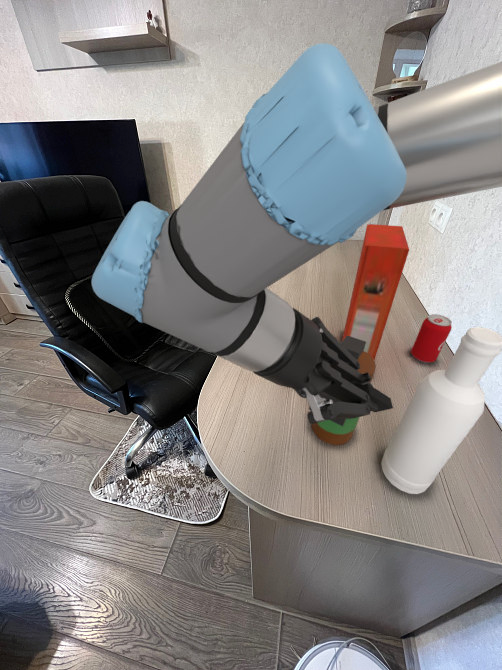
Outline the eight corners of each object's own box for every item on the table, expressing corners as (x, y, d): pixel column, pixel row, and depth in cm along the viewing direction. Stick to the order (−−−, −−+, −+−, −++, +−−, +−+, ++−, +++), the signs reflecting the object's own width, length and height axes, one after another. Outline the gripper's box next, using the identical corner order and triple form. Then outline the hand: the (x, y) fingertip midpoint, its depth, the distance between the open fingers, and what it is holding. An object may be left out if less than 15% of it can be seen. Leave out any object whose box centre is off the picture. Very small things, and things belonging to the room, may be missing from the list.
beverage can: (440, 359, 74) (459, 322, 68) (426, 367, 72) (445, 329, 65) (418, 347, 79) (434, 310, 72) (405, 354, 76) (420, 317, 69)
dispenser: (320, 404, 62) (338, 321, 49) (359, 422, 58) (389, 337, 45) (301, 434, 56) (315, 348, 43) (342, 457, 52) (372, 369, 39)
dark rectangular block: (312, 404, 49) (316, 384, 46) (345, 420, 46) (352, 400, 43) (308, 409, 48) (312, 389, 45) (342, 426, 45) (348, 406, 42)
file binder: (336, 368, 72) (365, 244, 53) (342, 333, 85) (367, 223, 66) (369, 376, 69) (411, 249, 51) (370, 338, 82) (404, 226, 64)
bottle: (401, 501, 45) (493, 362, 28) (371, 457, 52) (431, 322, 34) (440, 487, 47) (549, 348, 30) (406, 446, 53) (481, 312, 36)
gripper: (246, 305, 33) (351, 373, 46) (239, 411, 26) (367, 457, 38) (295, 271, 28) (396, 357, 41) (304, 389, 21) (424, 449, 34)
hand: (382, 405), depth 40 cm, fingers closed
